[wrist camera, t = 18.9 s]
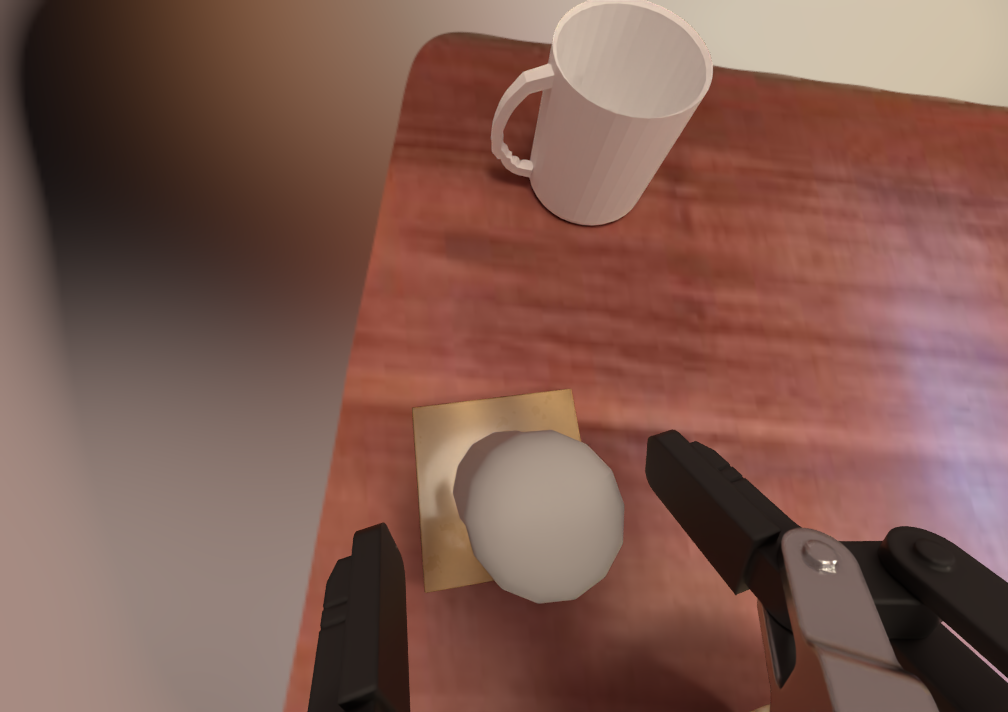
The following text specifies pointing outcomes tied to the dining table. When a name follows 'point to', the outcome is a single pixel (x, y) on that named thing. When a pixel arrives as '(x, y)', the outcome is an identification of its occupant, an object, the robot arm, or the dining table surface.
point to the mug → (606, 106)
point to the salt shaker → (540, 513)
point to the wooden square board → (437, 457)
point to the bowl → (762, 709)
